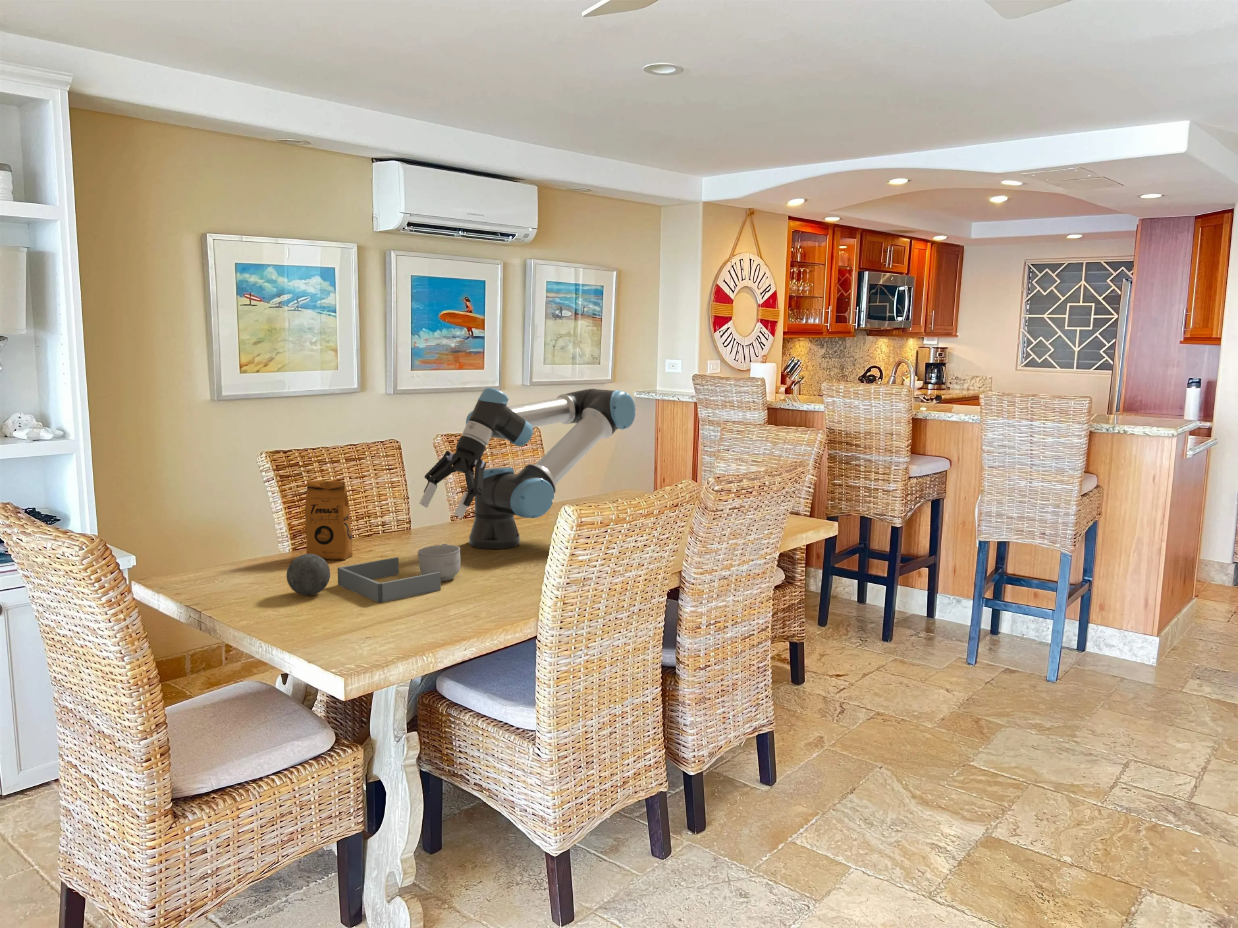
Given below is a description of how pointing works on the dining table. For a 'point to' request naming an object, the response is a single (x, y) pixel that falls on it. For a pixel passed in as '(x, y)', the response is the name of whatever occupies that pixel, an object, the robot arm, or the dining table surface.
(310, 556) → the decorative ball
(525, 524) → the dining table surface
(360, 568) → the box
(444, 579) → the teacup
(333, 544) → the coffee package
